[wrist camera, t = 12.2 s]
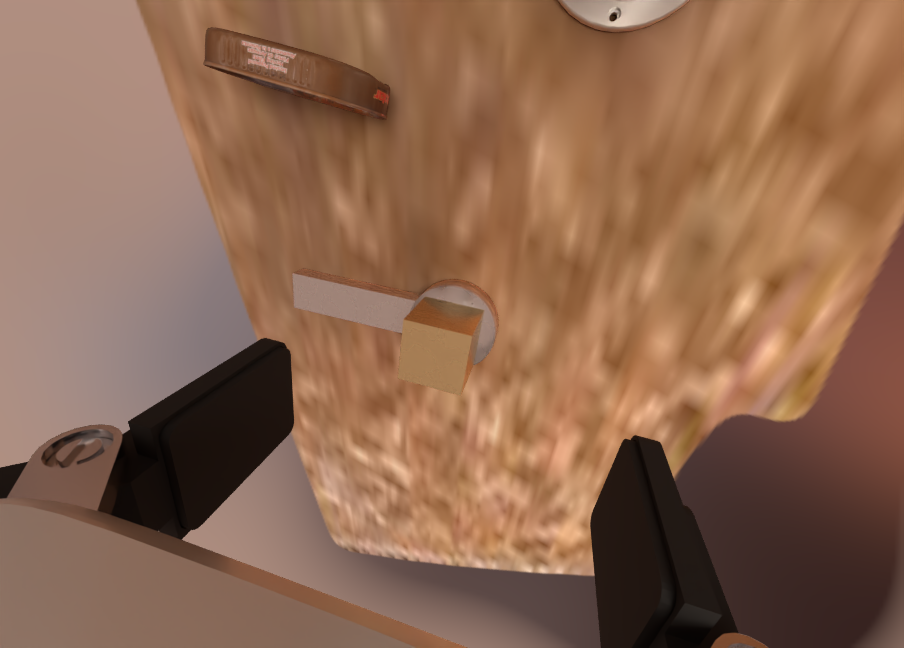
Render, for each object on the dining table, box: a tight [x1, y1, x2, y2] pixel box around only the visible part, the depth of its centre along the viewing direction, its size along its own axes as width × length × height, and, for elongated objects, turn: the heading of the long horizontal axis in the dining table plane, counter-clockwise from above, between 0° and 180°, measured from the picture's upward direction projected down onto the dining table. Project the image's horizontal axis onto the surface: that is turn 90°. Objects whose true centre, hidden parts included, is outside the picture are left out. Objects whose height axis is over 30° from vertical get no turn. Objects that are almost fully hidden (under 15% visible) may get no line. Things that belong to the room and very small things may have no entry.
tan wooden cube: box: [398, 296, 484, 396], centre depth 36 cm, size 6×6×6 cm
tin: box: [203, 27, 390, 120], centre depth 31 cm, size 15×3×8 cm, turn 74°
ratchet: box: [293, 268, 499, 365], centre depth 39 cm, size 9×22×6 cm, turn 81°
